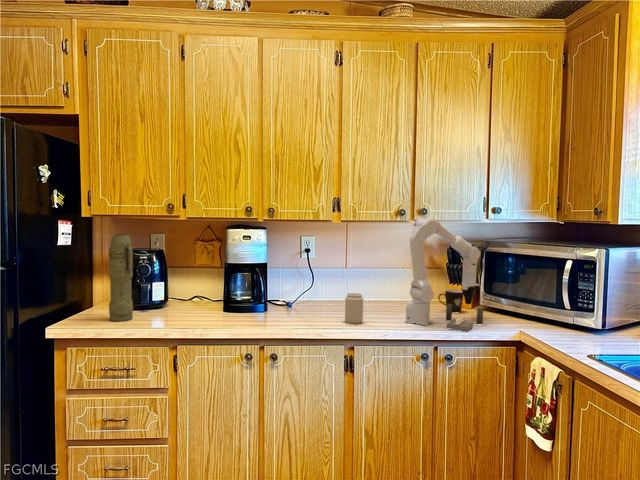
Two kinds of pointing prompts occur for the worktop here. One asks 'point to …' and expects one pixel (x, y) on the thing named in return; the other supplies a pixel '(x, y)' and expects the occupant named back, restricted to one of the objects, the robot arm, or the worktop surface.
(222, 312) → the worktop surface
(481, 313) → the post
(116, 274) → the thermos
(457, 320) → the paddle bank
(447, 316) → the post
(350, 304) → the can
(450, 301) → the coffee mug
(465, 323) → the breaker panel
